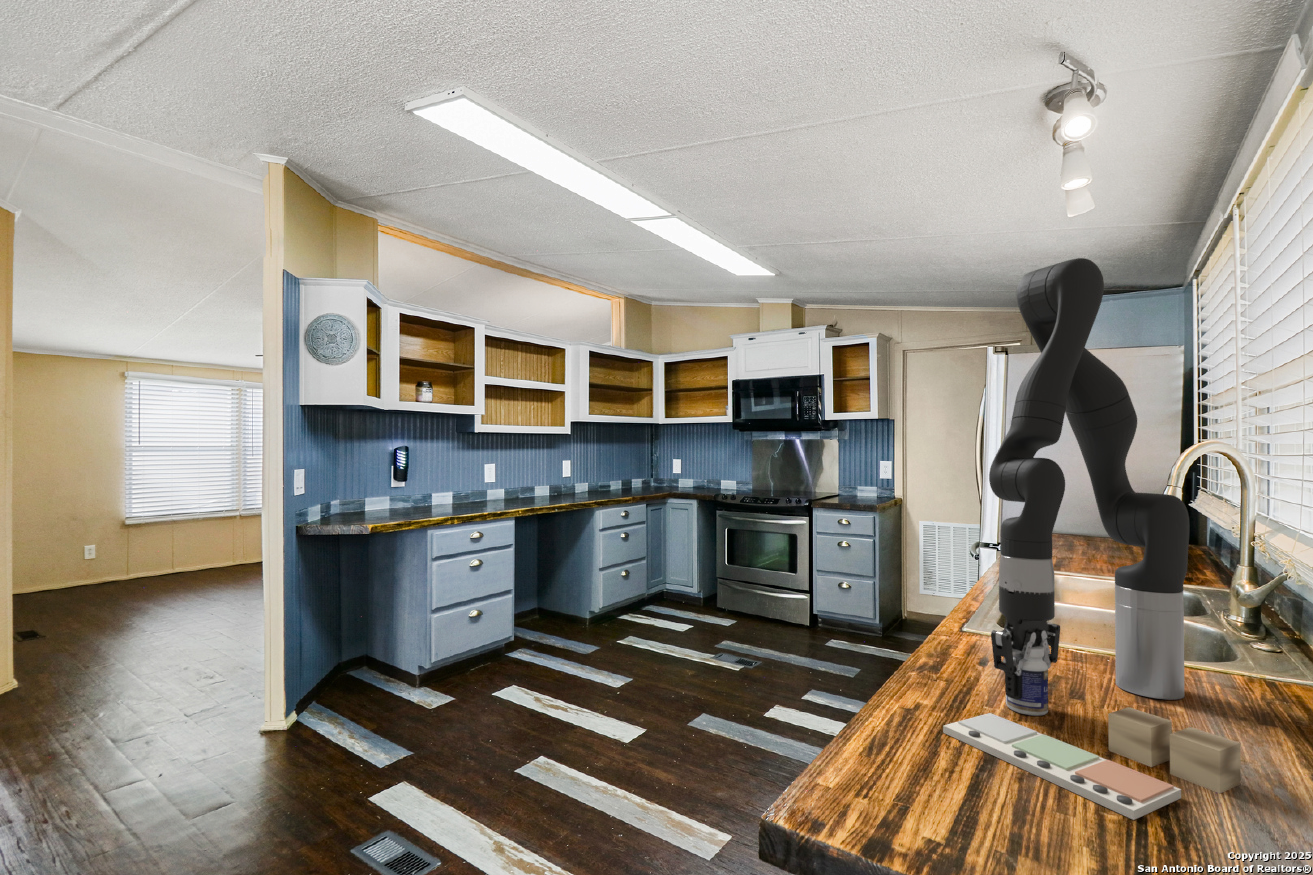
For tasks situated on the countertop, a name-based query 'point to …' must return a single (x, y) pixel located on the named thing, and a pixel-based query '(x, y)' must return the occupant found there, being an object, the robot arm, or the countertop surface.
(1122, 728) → the maple block
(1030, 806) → the countertop surface
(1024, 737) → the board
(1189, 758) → the maple block
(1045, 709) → the pill bottle
